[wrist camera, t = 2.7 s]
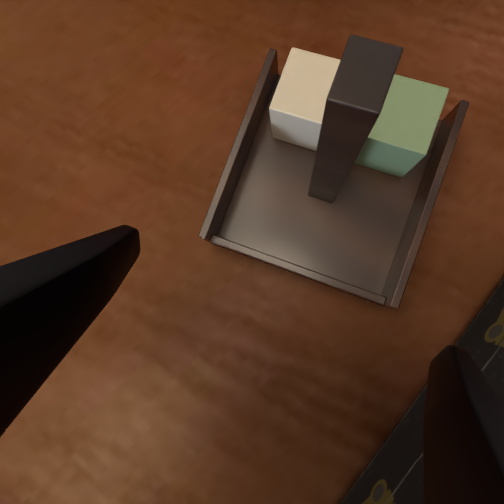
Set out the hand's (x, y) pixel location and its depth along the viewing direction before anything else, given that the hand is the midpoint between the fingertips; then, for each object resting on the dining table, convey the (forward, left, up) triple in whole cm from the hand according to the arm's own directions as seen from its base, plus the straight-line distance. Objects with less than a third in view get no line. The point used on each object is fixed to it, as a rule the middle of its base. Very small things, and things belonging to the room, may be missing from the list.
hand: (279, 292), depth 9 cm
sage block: (+5, -11, -13) cm, 18 cm away
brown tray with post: (+5, -6, -14) cm, 16 cm away
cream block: (+9, -7, -13) cm, 18 cm away
